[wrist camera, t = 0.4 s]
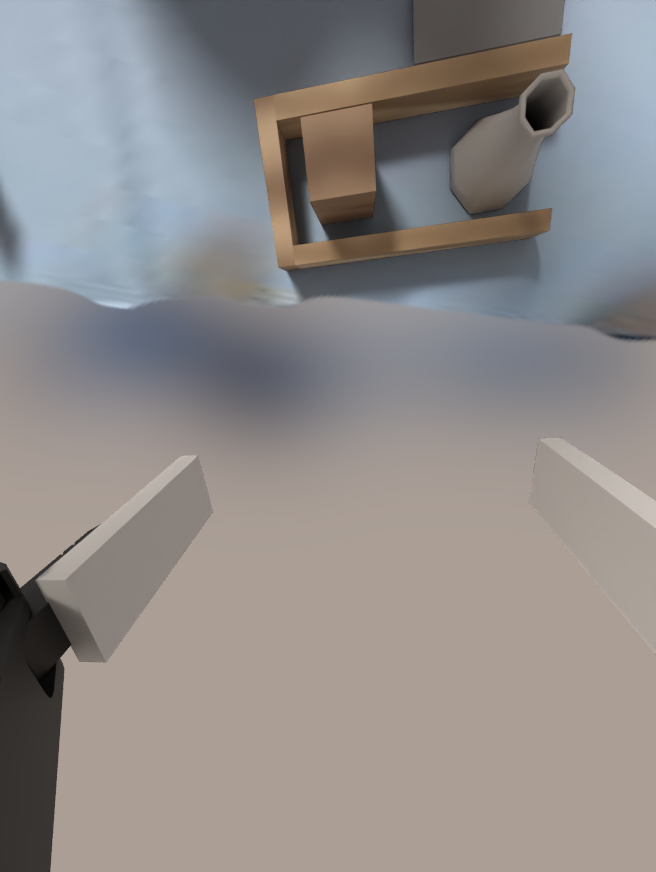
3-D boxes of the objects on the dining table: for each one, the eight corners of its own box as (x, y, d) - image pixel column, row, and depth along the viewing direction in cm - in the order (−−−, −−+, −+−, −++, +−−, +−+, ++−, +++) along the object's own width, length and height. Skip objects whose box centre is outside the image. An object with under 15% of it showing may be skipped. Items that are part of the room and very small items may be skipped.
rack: (265, 121, 30) (253, 99, 27) (546, 66, 27) (571, 33, 24) (286, 270, 34) (278, 267, 31) (529, 237, 31) (549, 230, 28)
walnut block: (315, 162, 31) (300, 117, 23) (369, 153, 30) (372, 103, 23) (321, 225, 32) (309, 201, 25) (372, 217, 32) (376, 190, 24)
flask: (541, 187, 30) (623, 134, 20) (462, 229, 31) (503, 198, 22) (520, 94, 28) (600, -12, 18) (436, 145, 29) (470, 72, 20)
